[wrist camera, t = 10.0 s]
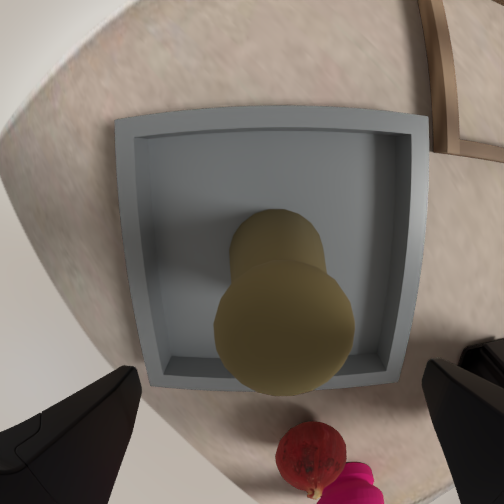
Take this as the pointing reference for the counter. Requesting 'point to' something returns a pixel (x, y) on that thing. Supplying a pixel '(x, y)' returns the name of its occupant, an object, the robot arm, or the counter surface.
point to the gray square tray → (262, 198)
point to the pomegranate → (311, 457)
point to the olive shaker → (282, 308)
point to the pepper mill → (352, 487)
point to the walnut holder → (447, 88)
